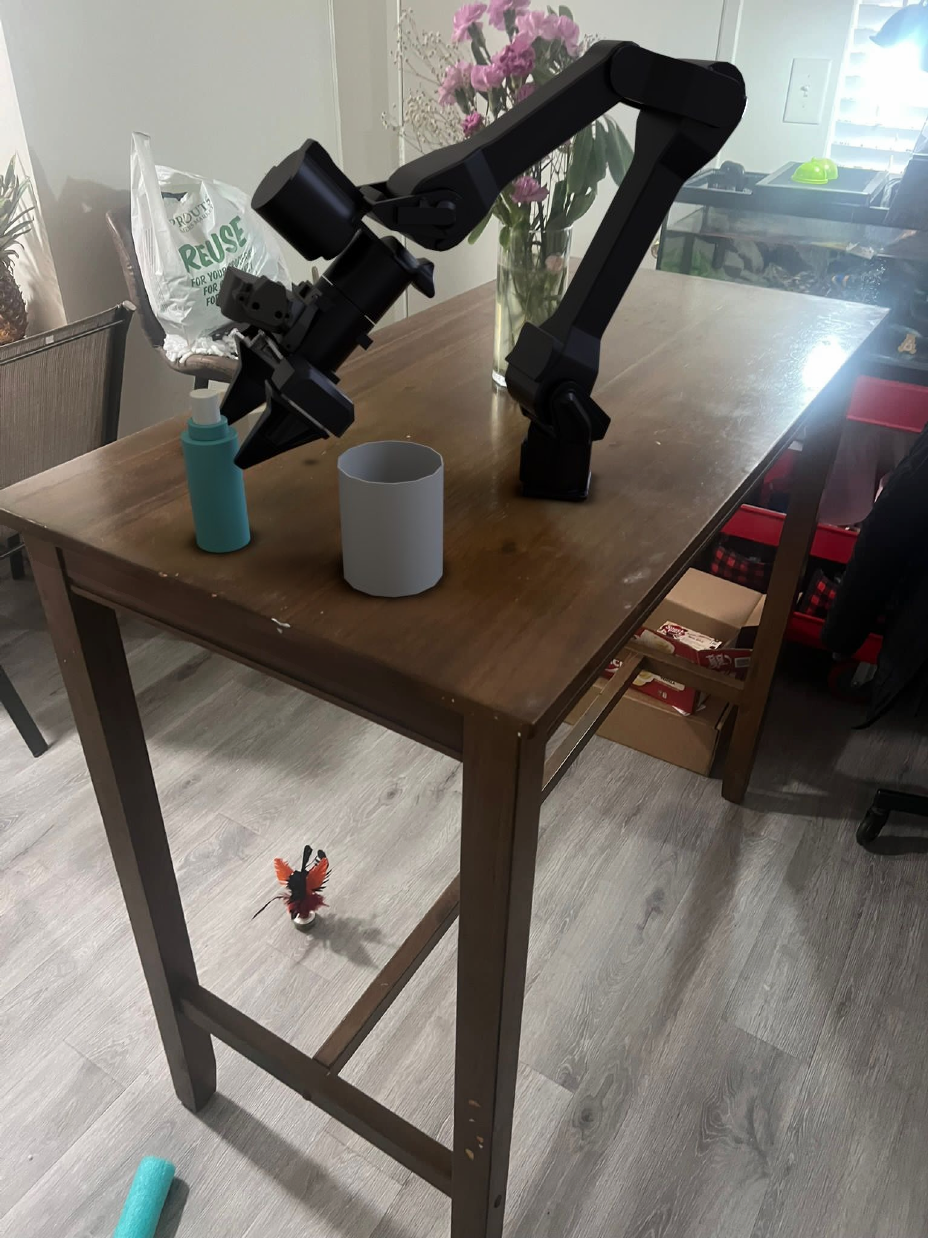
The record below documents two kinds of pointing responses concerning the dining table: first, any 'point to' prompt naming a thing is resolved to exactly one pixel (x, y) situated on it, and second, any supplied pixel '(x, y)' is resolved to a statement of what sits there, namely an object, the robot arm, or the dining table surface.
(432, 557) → the cup
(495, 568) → the dining table surface
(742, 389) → the dining table surface
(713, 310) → the dining table surface
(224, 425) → the bottle
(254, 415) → the holder
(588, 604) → the dining table surface
